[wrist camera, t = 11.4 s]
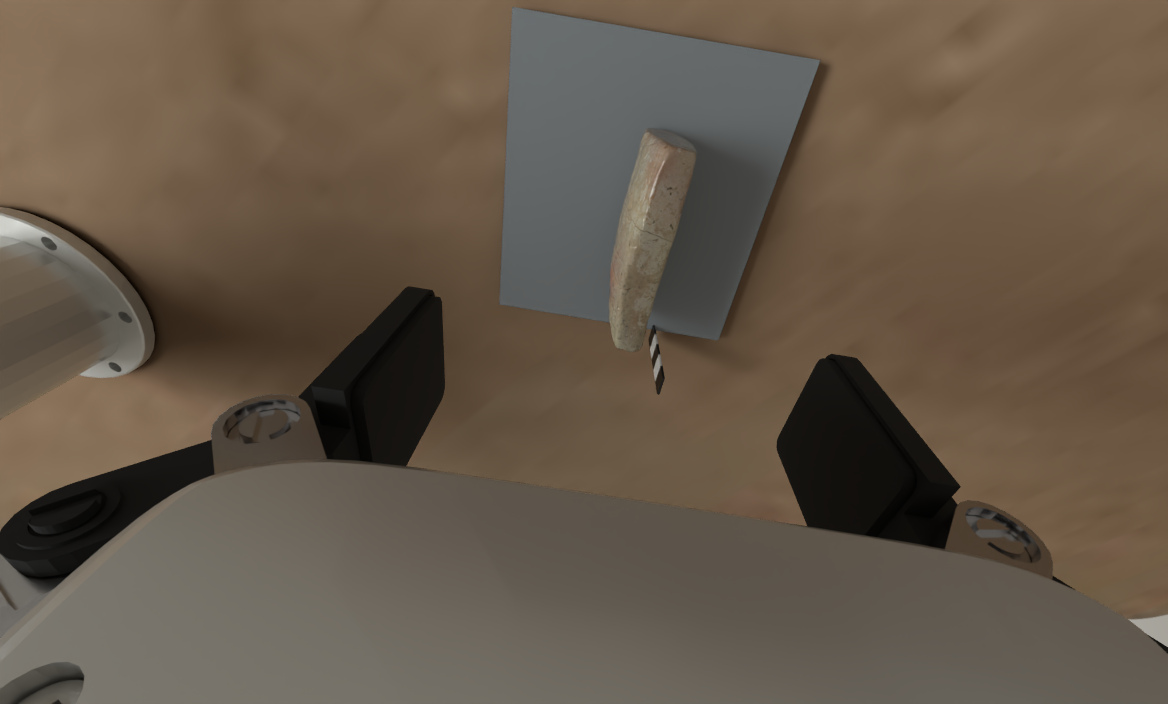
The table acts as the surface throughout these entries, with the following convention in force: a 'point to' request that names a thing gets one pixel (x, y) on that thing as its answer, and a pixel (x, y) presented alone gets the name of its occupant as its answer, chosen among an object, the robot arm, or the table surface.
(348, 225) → the table surface
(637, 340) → the cuneiform tablet
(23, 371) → the robot arm
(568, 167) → the mat
